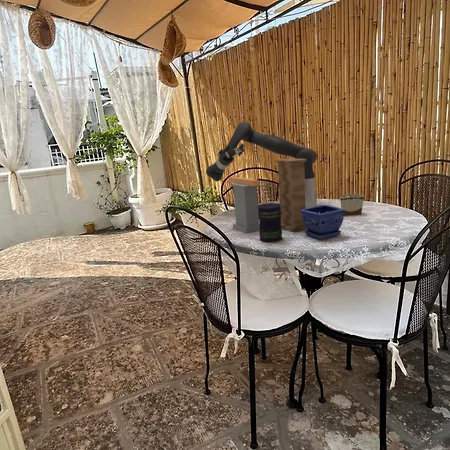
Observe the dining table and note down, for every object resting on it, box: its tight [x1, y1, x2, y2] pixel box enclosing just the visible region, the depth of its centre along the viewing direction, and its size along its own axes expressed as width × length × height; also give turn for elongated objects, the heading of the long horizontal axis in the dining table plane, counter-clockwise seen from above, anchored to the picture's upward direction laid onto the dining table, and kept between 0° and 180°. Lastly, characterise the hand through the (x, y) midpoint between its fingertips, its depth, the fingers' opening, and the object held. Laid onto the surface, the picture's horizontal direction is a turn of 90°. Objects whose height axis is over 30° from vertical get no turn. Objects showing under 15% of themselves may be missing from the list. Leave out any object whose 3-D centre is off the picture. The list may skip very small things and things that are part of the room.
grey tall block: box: [230, 183, 260, 234], centre depth 173 cm, size 12×10×22 cm
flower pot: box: [301, 204, 345, 241], centre depth 153 cm, size 13×13×12 cm
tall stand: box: [275, 157, 308, 233], centre depth 166 cm, size 12×10×32 cm
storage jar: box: [258, 202, 283, 243], centre depth 154 cm, size 10×10×15 cm
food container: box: [338, 193, 365, 217], centre depth 183 cm, size 12×6×10 cm, turn 84°
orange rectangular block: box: [228, 176, 260, 187], centre depth 171 cm, size 22×3×2 cm, turn 29°
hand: (236, 145), depth 190 cm, fingers open, 8 cm apart
